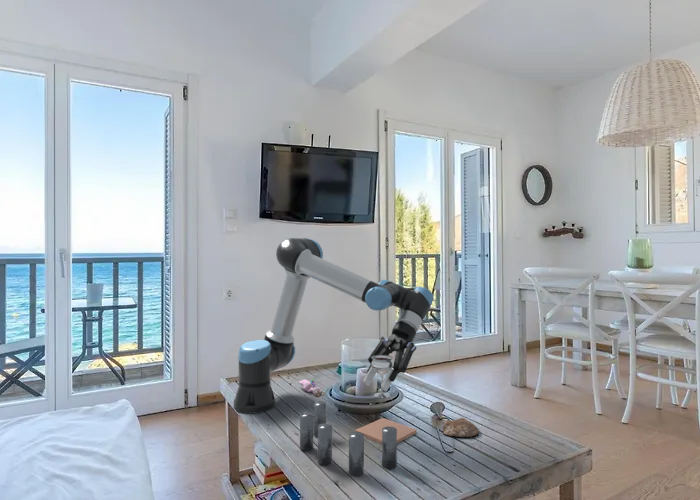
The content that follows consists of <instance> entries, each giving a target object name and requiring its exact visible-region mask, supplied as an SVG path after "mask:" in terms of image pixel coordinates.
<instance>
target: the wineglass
mask: <svg viewBox="0 0 700 500" xmlns="http://www.w3.org/2000/svg"><path fill="white" fill-rule="evenodd" d="M372 359H373V361H372V363H371V364H372V368H373V370H374V371H375V372H376V373H377V374H379V376H380V388H381V389H380V392H376V393H374V394H373V396H374V397H376V398H379V399H387V398H389V397H391V396H390V394H389V393H387V392H383V391H384V390H383V388H382V387H381V385H382V383H383V381H384V376H386V375H387V374H388V372H389V370H390V368H391V369H393V368H392V367H393V366H394V361H393V359H394V358H393V356H391V355H375V356H372ZM371 364H370V365H371Z"/></svg>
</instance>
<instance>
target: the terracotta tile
mask: <svg viewBox="0 0 700 500" xmlns="http://www.w3.org/2000/svg"><path fill="white" fill-rule="evenodd" d="M388 426H389V427H395V428H396V429H397V444H398V443H400V442H402V441H404V440H406V439H408V438H409V437H411V436H413V435H416V434H417V429H416V428H413V427H410V426H407V425H404V424H401V423H399V422H395V421H393V420H389V419H387V418H384V417H382V418H379V419H378V420H377V419H376V420H375V421H373V422H370V423H368V424H366V425H364V426H361V427H359V428H356V429H355V431H354V432H361V433H363V434H364V438H367V439H370V440H371V441H373V442H376V443H379V444H381V445H382V429H383V428H384V427H388Z"/></svg>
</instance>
